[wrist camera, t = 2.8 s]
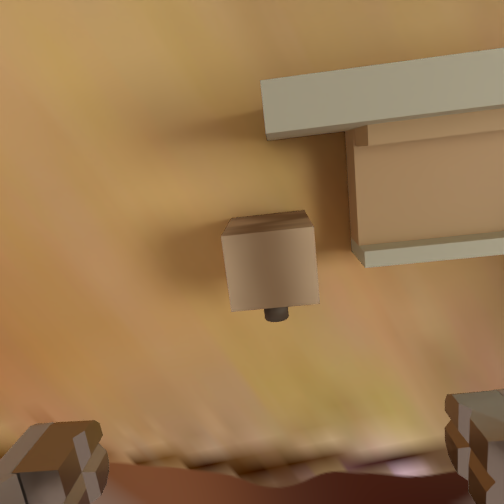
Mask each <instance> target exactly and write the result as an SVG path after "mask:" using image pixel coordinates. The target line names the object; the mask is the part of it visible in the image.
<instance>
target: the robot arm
mask: <svg viewBox="0 0 504 504" xmlns="http://www.w3.org/2000/svg"><path fill="white" fill-rule="evenodd" d="M445 411H446V413H447V414H448V416H449V417H450V419H451V420H450V421H449V423H448V424H447V425H446V427H445V442H446V447H447V451H448V455H449V457H450V460H451V462H452V464H453V466H454V468H455V470H456V471H457V473H458V474H459V475H461V476H462V477H464V478H466V479H467V480H468V492H469V493H470V495H471V497H472V498H473V500H474V502H475V503H476V504H504V389H496V390H493V391H481V392H469V393H457V394H447V396H446V399H445ZM102 436H103V434H102V430H101V427H100V423H98V422H97V421H95V420H89V421H69V422H56V423H53V422H51V423H38V424H34V425H32V426H30V427H29V428H28V429H27V430H26V432H25V433H24V434H23V435H22V436H21V437H20V438H19V439H18V441H17V442H16V443H15V444H14V445H13V446H12V447H11V448H10V450H9V451H8V452H7V453H6V454H5V455H4V456H3V457H2V459H1V460H0V504H91V503H93V502H94V501H95V500H96V499H97V498H99V497H100V496H101V495H102V493H103V490H104V488H105V486H106V483H107V478H108V473H109V459H108V454H107V451H106V450H105V449H104V448H103V447H102V446H101V445H100V444H99V442H100V440H101V438H102Z"/></svg>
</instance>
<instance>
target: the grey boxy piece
mask: <svg viewBox="0 0 504 504" xmlns="http://www.w3.org/2000/svg"><path fill="white" fill-rule="evenodd" d="M260 83H261V93H262V102H263V112H264V122H265V131H266V137H267V141H270V140H278V139H286V138H295V137H303V136H311V135H319V134H327V133H335V132H343V131H345V143H346V160H347V178H348V196H349V214H350V232H351V249H352V252H353V254H354V255H355V256H356V257H357V258H358V260H359V261H360V262H361V263H362V264H363V266H364V267H365V268H370V267H380V266H390V265H400V264H411V263H421V262H431V261H442V260H452V259H462V258H472V257H483V256H493V255H503V254H504V48H498V49H490V50H483V51H475V52H468V53H460V54H453V55H446V56H438V57H431V58H423V59H416V60H408V61H401V62H394V63H386V64H379V65H371V66H364V67H356V68H349V69H342V70H334V71H327V72H319V73H312V74H304V75H297V76H290V77H282V78H275V79H267V80H260Z"/></svg>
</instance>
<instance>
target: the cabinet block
mask: <svg viewBox="0 0 504 504" xmlns="http://www.w3.org/2000/svg"><path fill="white" fill-rule="evenodd" d="M221 241H222V248H223V255H224V262H225V269H226V277H227V284H228V291H229V298H230V305H231V312H234V311H245V310H256V309H264V313H265V319H266V320H267V321H270V322H279V321H283V320H286V319H287V318H288V317H289V315H288V307H289V306H300V305H311V304H320V298H319V286H318V273H317V260H316V248H315V235H314V226H313V224H312V223H311V221H310V219H309V217H308V216H307V214H306V212H305V211H304V210H301V211H292V212H283V213H274V214H265V215H256V216H247V217H237V218H231V220H230V222H229V223H228V225H227V227H226V228H225V230H224V232H223V234H222V235H221Z"/></svg>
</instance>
